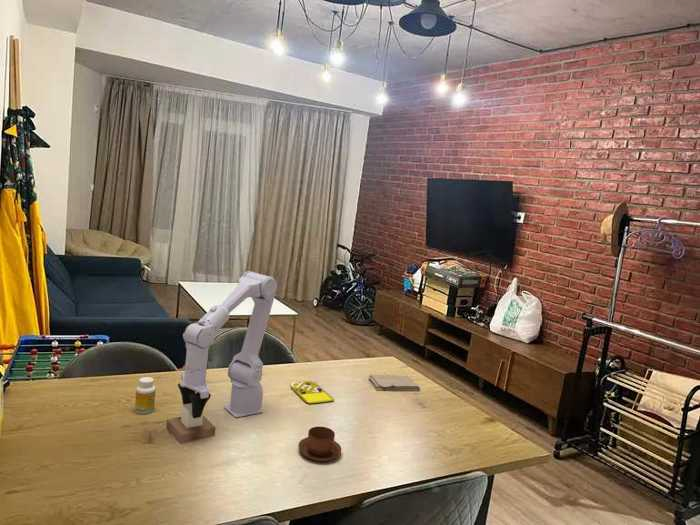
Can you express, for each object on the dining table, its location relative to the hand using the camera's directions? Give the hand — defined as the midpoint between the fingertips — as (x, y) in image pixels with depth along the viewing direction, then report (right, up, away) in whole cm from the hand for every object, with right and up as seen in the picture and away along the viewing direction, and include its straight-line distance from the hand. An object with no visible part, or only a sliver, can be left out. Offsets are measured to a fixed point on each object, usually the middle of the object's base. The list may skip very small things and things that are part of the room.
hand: (192, 412), depth 146 cm
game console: (+30, -5, +38) cm, 49 cm away
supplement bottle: (-17, -2, +10) cm, 20 cm away
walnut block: (-1, -6, +1) cm, 6 cm away
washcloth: (+61, -6, +56) cm, 83 cm away
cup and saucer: (+36, -11, -2) cm, 38 cm away
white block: (0, -3, 0) cm, 3 cm away
